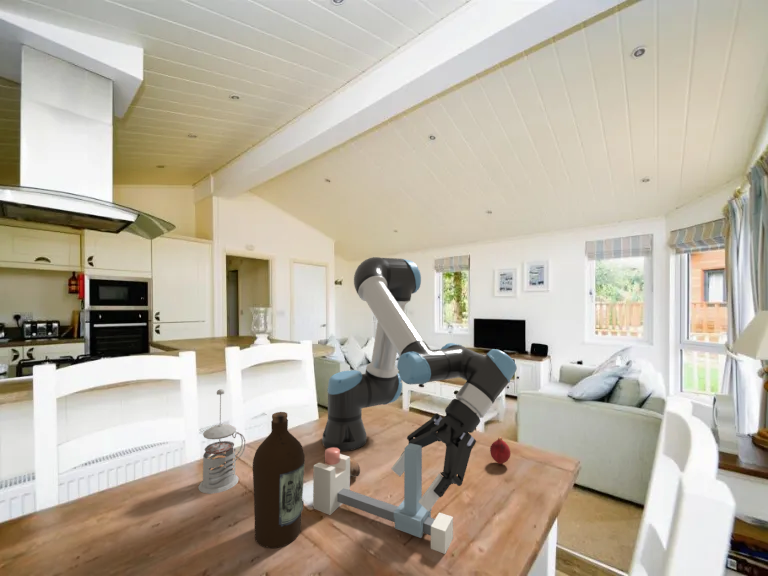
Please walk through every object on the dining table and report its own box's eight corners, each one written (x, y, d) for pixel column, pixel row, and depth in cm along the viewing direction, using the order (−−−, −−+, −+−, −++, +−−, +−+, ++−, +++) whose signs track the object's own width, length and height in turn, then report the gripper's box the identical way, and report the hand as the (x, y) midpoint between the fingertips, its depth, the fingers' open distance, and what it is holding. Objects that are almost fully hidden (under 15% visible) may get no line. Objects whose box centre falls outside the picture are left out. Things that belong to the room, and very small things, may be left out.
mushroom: (332, 477, 88) (341, 452, 92) (323, 476, 95) (332, 452, 98) (359, 488, 90) (367, 463, 93) (348, 486, 96) (356, 463, 100)
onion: (511, 470, 99) (511, 442, 99) (491, 467, 100) (491, 440, 100) (508, 460, 105) (508, 434, 105) (489, 458, 106) (489, 432, 106)
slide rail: (313, 508, 81) (313, 465, 81) (333, 491, 88) (334, 452, 88) (442, 559, 65) (442, 506, 66) (455, 533, 72) (455, 486, 73)
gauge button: (321, 462, 83) (321, 452, 83) (331, 456, 86) (331, 446, 86) (333, 466, 81) (333, 455, 81) (342, 459, 84) (342, 449, 84)
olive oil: (240, 539, 70) (242, 417, 71) (278, 510, 80) (280, 403, 80) (277, 558, 65) (279, 427, 66) (314, 525, 75) (315, 411, 75)
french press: (192, 483, 91) (194, 389, 92) (235, 467, 100) (237, 381, 100) (206, 498, 84) (208, 397, 85) (251, 480, 93) (253, 387, 93)
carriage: (393, 529, 71) (394, 449, 72) (406, 512, 77) (406, 438, 77) (420, 539, 68) (420, 456, 69) (431, 521, 74) (431, 444, 74)
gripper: (516, 439, 67) (451, 536, 61) (448, 402, 91) (396, 470, 85) (494, 416, 65) (425, 513, 60) (430, 384, 89) (376, 452, 83)
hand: (408, 488), depth 72 cm, fingers open, 13 cm apart
